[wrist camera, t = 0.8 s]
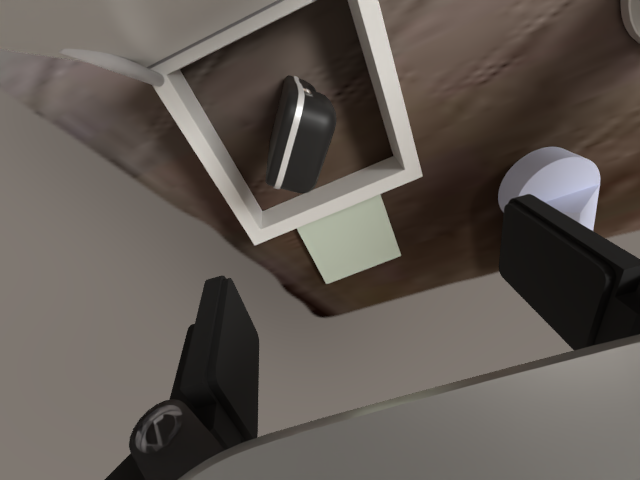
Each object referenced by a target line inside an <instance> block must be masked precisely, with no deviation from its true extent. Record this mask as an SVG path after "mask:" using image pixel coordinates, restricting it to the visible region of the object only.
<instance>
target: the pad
mask: <svg viewBox="0 0 640 480" xmlns="http://www.w3.org/2000/svg"><path fill="white" fill-rule="evenodd" d="M297 230H298V232H299V234H300V236H301V238H302V240H303V241H304V243H305V245H306V247H307V249H308V251H309V253H310V255H311V256H312V258H313V260H314V262H315V264H316V266H317V268H318V270H319V271H320V273H321V275H322V277H323V279H324V281H325V283H326V284H329V283H331V282H334V281H337V280H339V279H342V278H344V277H347V276H350V275H352V274H355V273H357V272H360V271H363V270H365V269H368V268H371V267H373V266H376V265H378V264H381V263H384V262H386V261H389V260H392V259H394V258H397V257H399V256H401V253H400V250H399V248H398V245H397V242H396V239H395V236H394V233H393V230H392V227H391V224H390V221H389V218H388V215H387V212H386V209H385V207H384V204H383V201H382V198H381V195H380V194H379V195H377V196H374V197H372V198H369V199H367V200H364V201H362V202H360V203H357V204H355V205H352V206H350V207H347V208H345V209H342V210H340V211H338V212H335V213H333V214H330V215H328V216H325V217H323V218H321V219H318V220H316V221H313V222H311V223H308V224H306V225H303V226H301V227H299V228H297Z"/></svg>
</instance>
